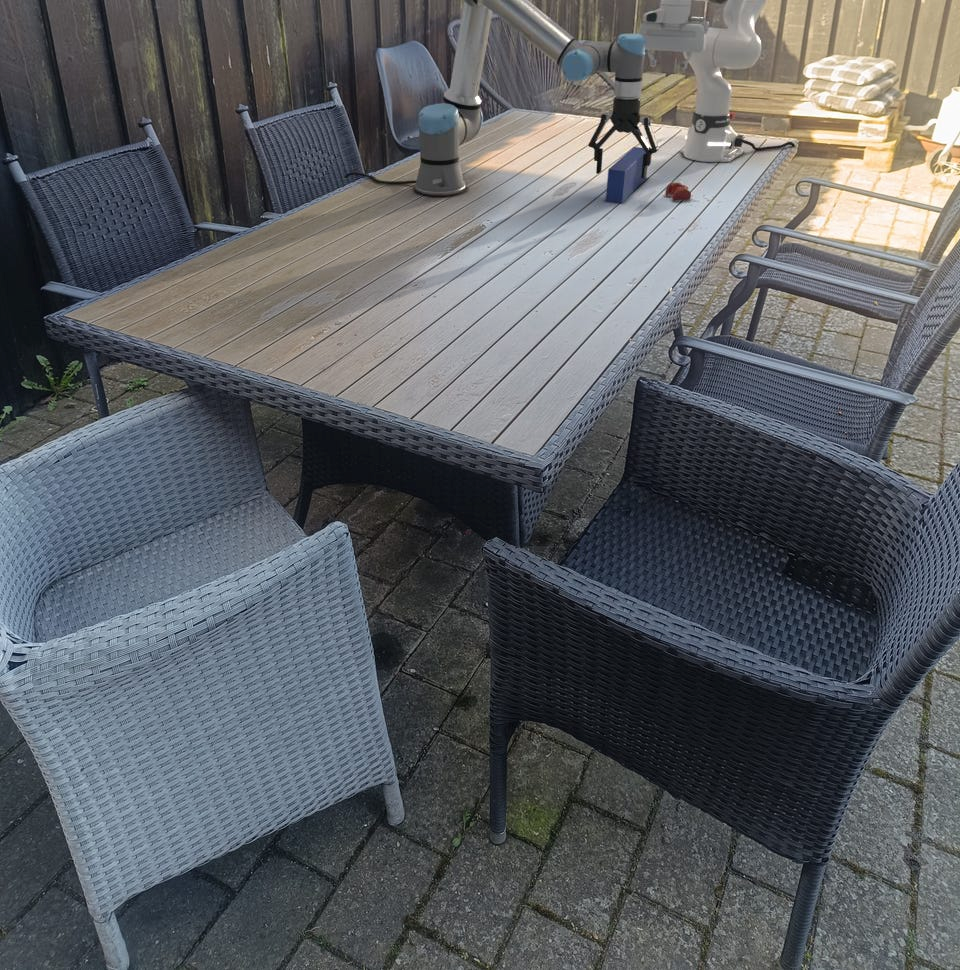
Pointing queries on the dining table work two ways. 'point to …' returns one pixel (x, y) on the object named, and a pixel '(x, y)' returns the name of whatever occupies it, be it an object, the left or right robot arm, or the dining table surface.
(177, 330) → the dining table surface
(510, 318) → the dining table surface
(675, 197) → the dental model
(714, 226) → the dining table surface
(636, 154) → the bar
